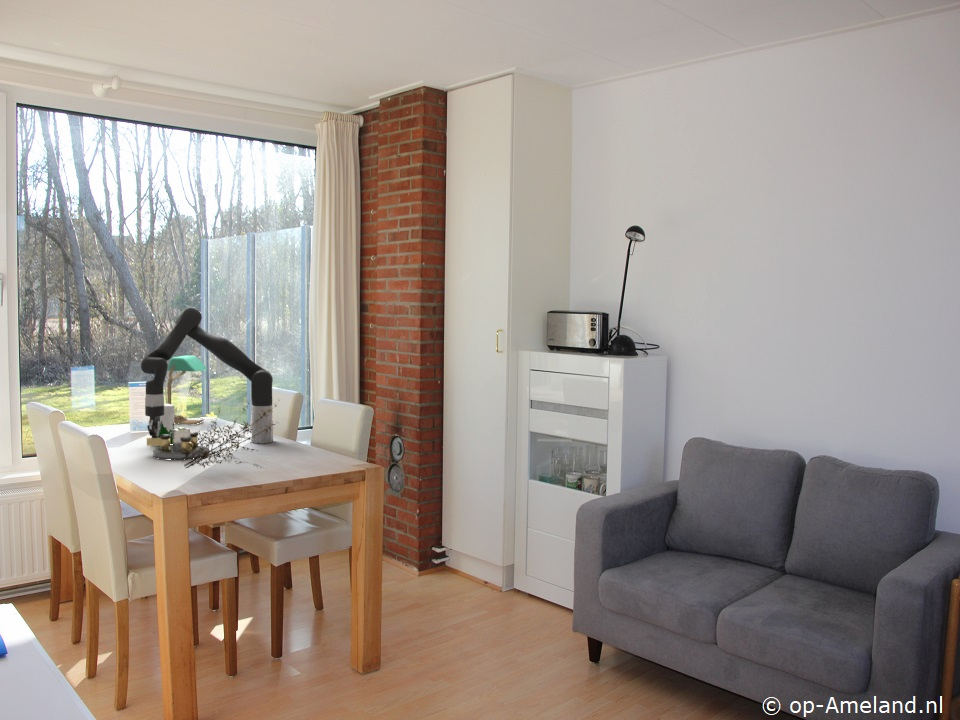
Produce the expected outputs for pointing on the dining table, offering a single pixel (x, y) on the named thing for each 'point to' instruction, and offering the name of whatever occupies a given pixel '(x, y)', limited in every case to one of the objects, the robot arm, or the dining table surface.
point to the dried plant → (222, 443)
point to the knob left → (185, 444)
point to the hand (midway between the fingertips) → (155, 444)
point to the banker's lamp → (180, 365)
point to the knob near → (194, 437)
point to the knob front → (160, 441)
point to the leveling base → (176, 454)
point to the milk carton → (167, 421)
